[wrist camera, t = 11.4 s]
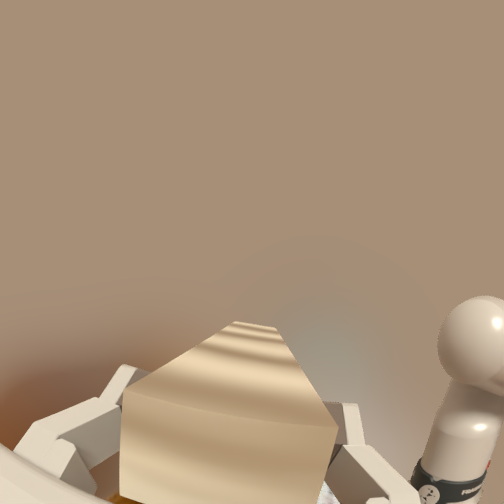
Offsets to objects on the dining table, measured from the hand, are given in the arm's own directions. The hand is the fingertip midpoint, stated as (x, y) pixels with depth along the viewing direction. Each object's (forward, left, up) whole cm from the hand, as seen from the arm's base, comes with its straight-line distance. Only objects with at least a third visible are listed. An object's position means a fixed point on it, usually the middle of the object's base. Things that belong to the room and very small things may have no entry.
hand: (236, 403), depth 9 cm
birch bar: (-5, -8, -2) cm, 9 cm away
